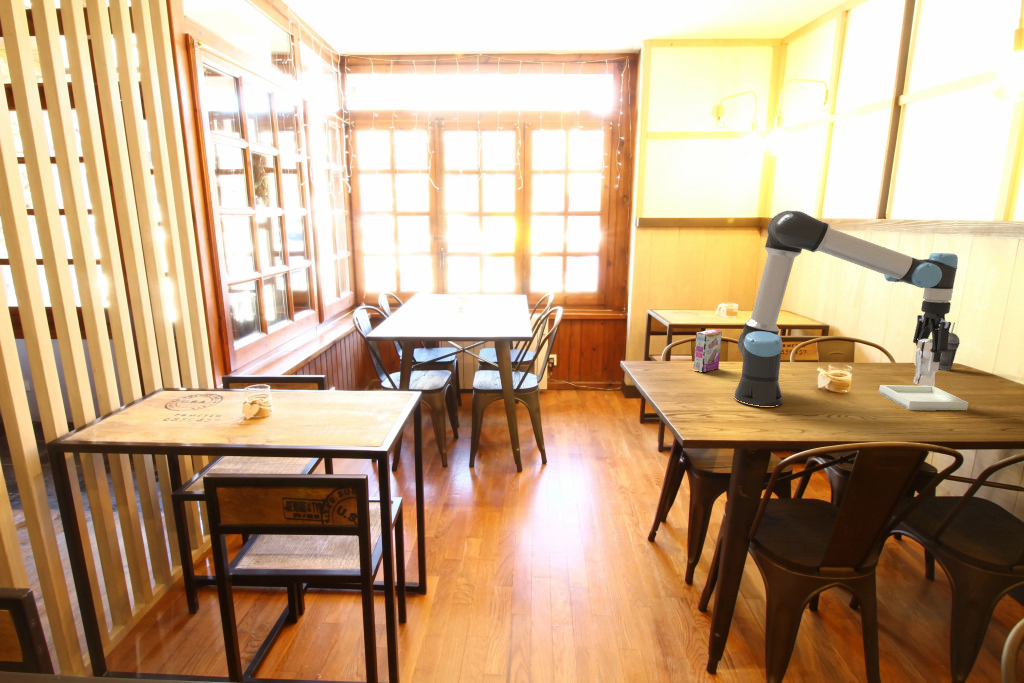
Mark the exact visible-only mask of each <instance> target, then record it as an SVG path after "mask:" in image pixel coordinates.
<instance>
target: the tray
mask: <svg viewBox="0 0 1024 683" xmlns="http://www.w3.org/2000/svg"><path fill="white" fill-rule="evenodd" d="M878 394H880V395H882V396H883V397H885V398H887V399H888V400H891V401H892V402H894V403H896V404H898V405H899V406H900V407H902V408H904V409H907V410H908V411H936V410H966V411H965V412H968V407H969V402H968V401H966V400H964V399H962V398H961V397H958V396H955V395H954V394H952V393H949V392H947V391H945V390H943V389H941V388H938V387H936V386H935V385H934V386H923V385H906V384H905V385H902V384H901V385H898V384H897V385H896V384H893V385H891V384H879V389H878Z"/></svg>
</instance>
